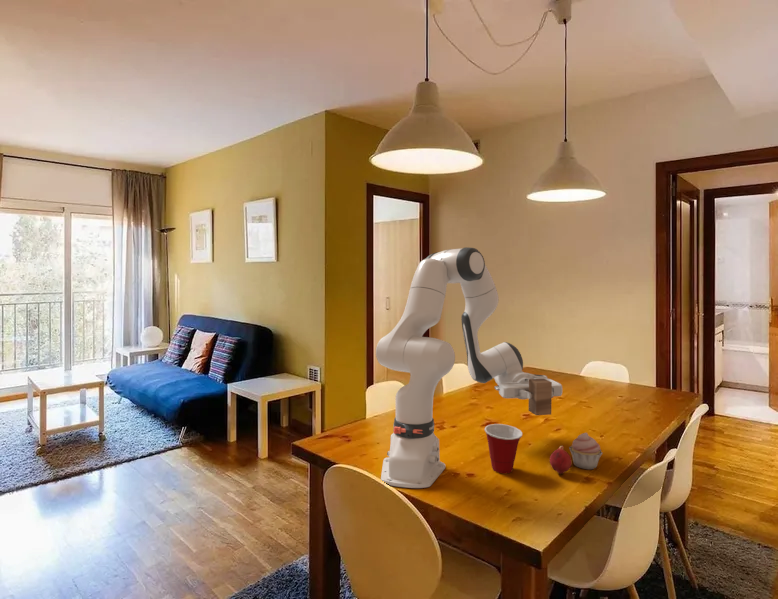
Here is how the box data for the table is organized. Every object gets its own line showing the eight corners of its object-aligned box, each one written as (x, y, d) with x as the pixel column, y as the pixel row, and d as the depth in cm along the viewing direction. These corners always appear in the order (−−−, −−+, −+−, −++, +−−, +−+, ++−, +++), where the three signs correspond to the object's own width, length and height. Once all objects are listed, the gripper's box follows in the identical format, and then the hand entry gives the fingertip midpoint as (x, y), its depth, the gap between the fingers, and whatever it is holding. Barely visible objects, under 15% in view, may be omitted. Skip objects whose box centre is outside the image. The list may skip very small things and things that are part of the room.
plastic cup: (505, 481, 129) (505, 438, 129) (476, 468, 138) (476, 428, 138) (530, 471, 136) (530, 430, 135) (500, 459, 145) (501, 421, 144)
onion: (563, 479, 130) (563, 451, 130) (545, 472, 135) (545, 445, 134) (575, 474, 134) (575, 447, 133) (557, 468, 138) (558, 441, 138)
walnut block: (551, 414, 143) (551, 382, 143) (536, 415, 142) (536, 382, 142) (543, 409, 148) (543, 378, 148) (528, 410, 147) (528, 379, 147)
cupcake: (608, 472, 135) (608, 438, 135) (575, 471, 135) (576, 438, 135) (594, 459, 145) (595, 427, 144) (564, 459, 145) (564, 427, 144)
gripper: (492, 377, 156) (509, 386, 142) (549, 375, 159) (571, 384, 146) (492, 395, 156) (509, 407, 143) (549, 393, 160) (571, 404, 146)
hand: (541, 395), depth 144 cm, fingers closed on walnut block, 5 cm apart
